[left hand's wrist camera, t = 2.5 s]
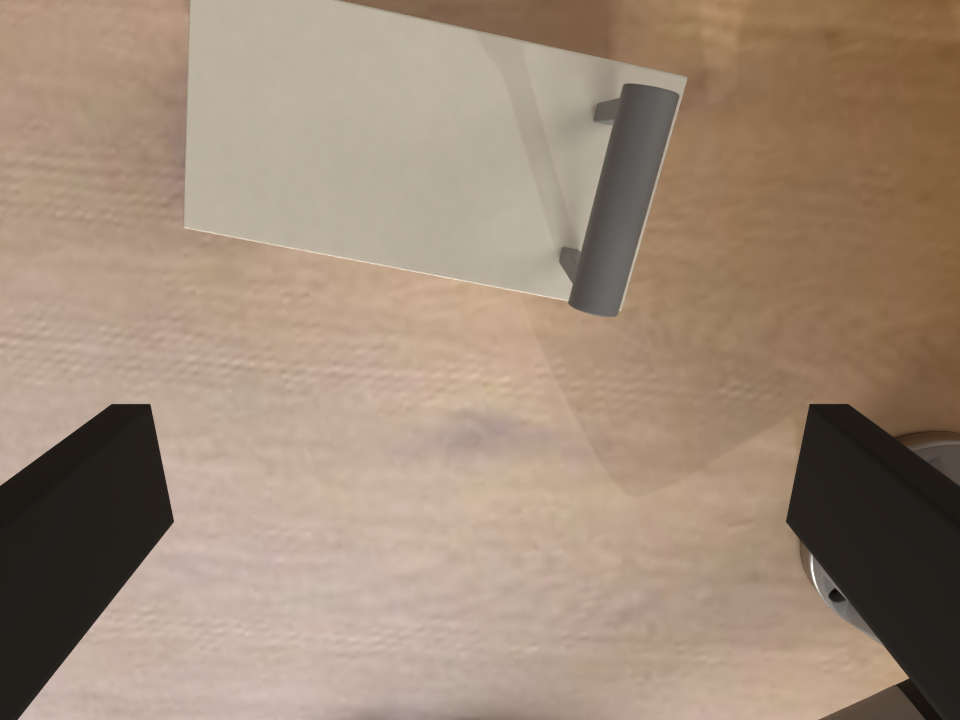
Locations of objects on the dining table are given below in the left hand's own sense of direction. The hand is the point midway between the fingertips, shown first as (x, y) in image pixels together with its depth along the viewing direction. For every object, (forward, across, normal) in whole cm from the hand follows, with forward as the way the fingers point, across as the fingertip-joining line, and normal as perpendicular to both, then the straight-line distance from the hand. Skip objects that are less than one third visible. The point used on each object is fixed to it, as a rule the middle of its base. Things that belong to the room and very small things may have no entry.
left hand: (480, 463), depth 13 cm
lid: (+15, +2, -6) cm, 16 cm away
